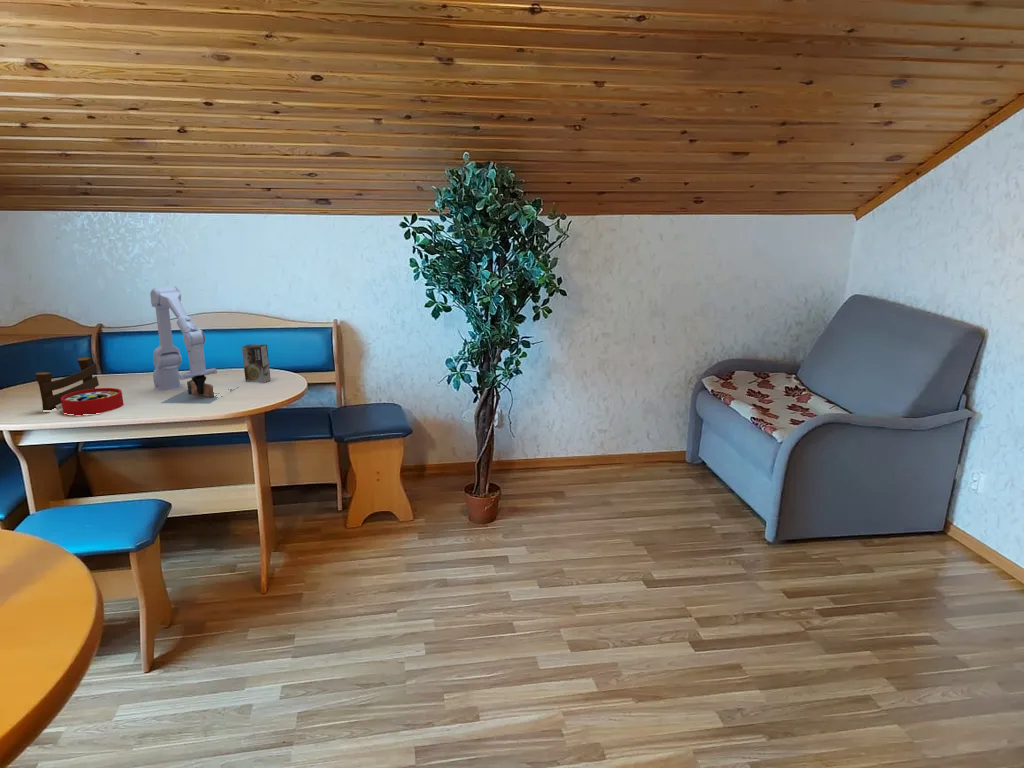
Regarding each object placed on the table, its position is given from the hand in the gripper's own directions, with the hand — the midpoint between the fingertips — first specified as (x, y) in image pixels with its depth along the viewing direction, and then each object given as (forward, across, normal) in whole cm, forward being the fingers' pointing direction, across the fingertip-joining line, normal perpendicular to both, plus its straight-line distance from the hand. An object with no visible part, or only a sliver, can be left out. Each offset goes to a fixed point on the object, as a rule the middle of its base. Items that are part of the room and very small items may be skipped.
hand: (200, 393), depth 275 cm
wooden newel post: (+1, +2, +2) cm, 3 cm away
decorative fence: (+2, -34, +37) cm, 51 cm away
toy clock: (+2, -33, +19) cm, 38 cm away
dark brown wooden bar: (+2, +4, +12) cm, 12 cm away
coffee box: (+2, +30, +8) cm, 31 cm away
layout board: (+2, +2, +4) cm, 5 cm away
